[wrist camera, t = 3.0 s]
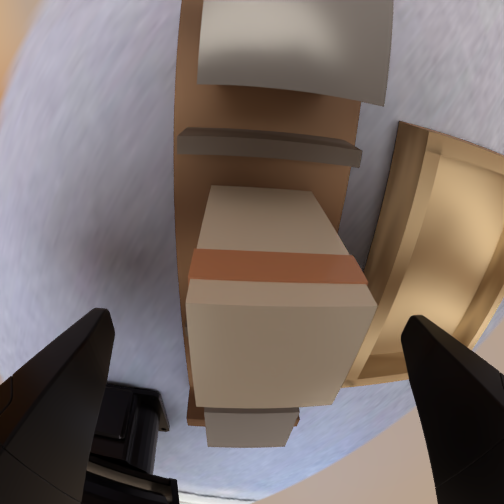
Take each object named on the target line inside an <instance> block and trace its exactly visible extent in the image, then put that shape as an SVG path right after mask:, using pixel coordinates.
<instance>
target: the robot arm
mask: <svg viewBox="0 0 504 504" xmlns="http://www.w3.org/2000/svg"><path fill="white" fill-rule="evenodd" d="M114 338H115V330H114V326H113V323H112V319H111V316H110V313H109V311H108V310H107V309H103V308H94V309H92V310H91V311H90V312H89V313H87V314H86V315H85V316H83V317H82V318H81V319H80V320H78V321H77V322H76V323H75V324H73V325H72V326H71V327H69V328H68V329H67V330H66V331H64V332H63V333H62V334H61V335H60V336H58V337H57V338H56V339H55V340H53V341H52V342H51V343H50V344H48V345H47V346H46V347H45V348H44V349H42V350H41V351H40V352H39V353H38V354H36V355H35V356H34V357H33V358H32V359H30V360H29V361H28V362H27V363H26V364H24V365H23V366H22V367H21V368H20V369H19V370H17V371H16V372H15V373H14V374H13V375H12V376H10V377H9V378H8V379H7V380H6V381H4V382H3V383H2V384H1V385H0V504H179V495H178V486H177V480H176V479H172V478H169V479H168V478H163V477H159V476H156V475H153V470H154V461H155V453H156V446H157V438H158V431H164V432H167V431H169V428H170V426H169V422H168V419H167V416H166V413H165V410H164V406H163V403H162V400H161V396H160V394H159V393H158V392H155V391H149V390H141V389H133V388H126V387H119V386H113V385H107V384H106V383H107V378H108V372H109V366H110V360H111V354H112V348H113V343H114ZM401 344H402V349H403V353H404V358H405V363H406V368H407V373H408V377H409V381H410V385H411V389H412V392H413V395H414V399H415V402H416V406H417V410H418V413H419V417H420V421H421V424H422V429H423V433H424V436H425V440H426V445H427V449H428V454H429V458H430V463H431V468H432V473H433V478H434V483H435V487H436V488H435V489H436V495H437V501H438V504H504V375H503V374H502V373H499V371H498V370H497V369H495V368H494V367H493V366H492V365H490V364H489V363H487V362H486V361H485V360H484V359H482V358H481V357H480V356H478V355H477V354H476V353H474V352H473V351H472V350H470V349H469V348H468V347H466V346H465V345H464V344H462V343H461V342H459V341H458V340H457V339H455V338H454V337H453V336H451V335H450V334H449V333H447V332H446V331H444V330H443V329H442V328H440V327H439V326H437V325H436V324H435V323H433V322H432V321H430V320H429V319H428V318H426V317H425V316H423V315H412V316H411V317H410V318H409V319H408V321H407V323H406V325H405V327H404V329H403V331H402V333H401Z"/></svg>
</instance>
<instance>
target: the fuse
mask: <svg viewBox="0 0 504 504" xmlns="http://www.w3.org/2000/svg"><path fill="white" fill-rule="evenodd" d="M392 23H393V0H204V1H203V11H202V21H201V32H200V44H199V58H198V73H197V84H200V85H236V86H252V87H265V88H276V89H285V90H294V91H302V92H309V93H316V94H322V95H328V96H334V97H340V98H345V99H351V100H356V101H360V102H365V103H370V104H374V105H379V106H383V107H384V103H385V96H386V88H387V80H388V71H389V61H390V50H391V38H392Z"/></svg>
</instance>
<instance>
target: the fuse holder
mask: <svg viewBox="0 0 504 504" xmlns="http://www.w3.org/2000/svg"><path fill="white" fill-rule="evenodd" d="M203 1H204V0H182V4H181V13H180V23H179V35H178V47H177V62H176V80H175V104H174V207H175V233H176V252H177V268H178V282H179V294H180V306H181V317H182V327H183V336H184V345H185V354H186V362H187V370H188V378H189V385H190V390H189V399H188V409H187V423H188V425H190V426H205V417H204V407H196V401H195V393H194V385H193V377H192V368H191V359H190V349H189V339H188V328H187V316H186V298H187V292H188V274H189V269H190V265H191V260H192V256H193V252H194V248H195V249H197V245H198V240H199V236H200V231H201V227H202V222H203V218H204V214H205V210H206V205H207V201H208V197H209V193H210V189H211V185H217V186H239V187H257V188H273V189H287V190H300V191H311V192H312V193H313V195H314V196H315V198H316V200H317V201H318V203H319V204H320V206H321V208H322V209H323V211H324V212H325V214H326V216H327V217H328V219H329V221H330V222H331V224H332V226H333V227H334V229H335V231H336V232H337V233H338V229H339V224H340V220H341V215H342V210H343V205H344V201H345V196H346V190H347V185H348V180H349V175H350V169H351V167H357V168H359V167H360V161H361V156H362V150H360V149H358V148H357V147H355V140H356V133H357V127H358V120H359V113H360V106H361V102H360V101H356V100H351V99H345V98H340V97H334V96H328V95H322V94H316V93H309V92H302V91H294V90H285V89H276V88H265V87H252V86H236V85H200V84H197V73H198V58H199V44H200V32H201V21H202V11H203ZM299 420H300V418H299V415H298V417H297V419H296V422H295V424H294V426H297V424H298V422H299ZM205 427H206V426H205Z"/></svg>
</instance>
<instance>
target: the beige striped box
mask: <svg viewBox="0 0 504 504" xmlns="http://www.w3.org/2000/svg"><path fill="white" fill-rule="evenodd" d="M367 285H368V281H367V279H366V277H365V275H364V274H363V272H362V270H361V268H360V267H359V265H358V263H357V261H356V260H355V258H354V256H353V255H350V254H349V253H348V251H347V249H346V248H345V246H344V244H343V242H342V241H341V239H340V237H339V236H338V234H337V232H336V231H335V229H334V227H333V226H332V224H331V222H330V221H329V219H328V217H327V216H326V214H325V212H324V211H323V209H322V208H321V206H320V204H319V203H318V201H317V200H316V198H315V196H314V195H313V193H312V192H311V191H300V190H287V189H273V188H257V187H239V186H217V185H211V189H210V193H209V197H208V201H207V205H206V210H205V214H204V218H203V222H202V227H201V231H200V236H199V240H198V245H197V249H195V248H194V252H193V256H192V260H191V265H190V269H189V274H188V292H187V298H186V316H187V328H188V339H189V349H190V359H191V368H192V377H193V385H194V393H195V401H196V407H213V408H292V407H309V406H323V405H332V403H333V401H334V400H335V398H336V396H337V394H338V392H339V390H340V388H341V386H342V384H343V382H344V380H345V378H346V376H347V374H348V372H349V370H350V368H351V366H352V364H353V362H354V359H355V357H356V355H357V353H358V351H359V349H360V346H361V344H362V342H363V340H364V337H365V335H366V333H367V331H368V328H369V326H370V324H371V321H372V319H373V316H374V314H375V311H376V309H377V304H376V302H375V300H374V298H373V296H372V294H371V292H370V291H369V289H368V287H367Z"/></svg>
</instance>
